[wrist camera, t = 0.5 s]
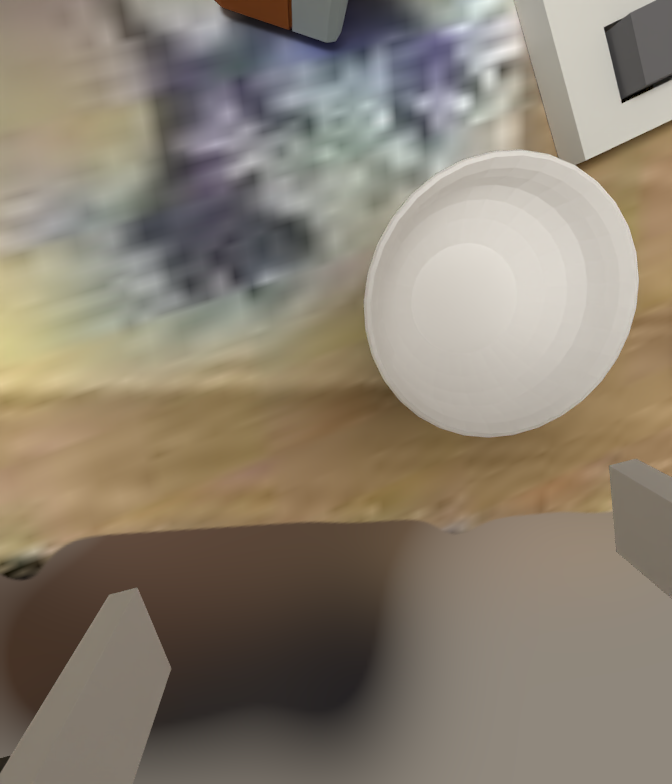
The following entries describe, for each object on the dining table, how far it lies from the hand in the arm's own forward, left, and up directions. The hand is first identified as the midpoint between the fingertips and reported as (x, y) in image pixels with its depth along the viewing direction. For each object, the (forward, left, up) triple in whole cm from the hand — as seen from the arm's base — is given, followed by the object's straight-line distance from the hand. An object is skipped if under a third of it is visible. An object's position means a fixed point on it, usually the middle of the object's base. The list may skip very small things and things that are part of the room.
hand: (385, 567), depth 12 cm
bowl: (-1, +13, -27) cm, 29 cm away
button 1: (-12, +30, -24) cm, 40 cm away
